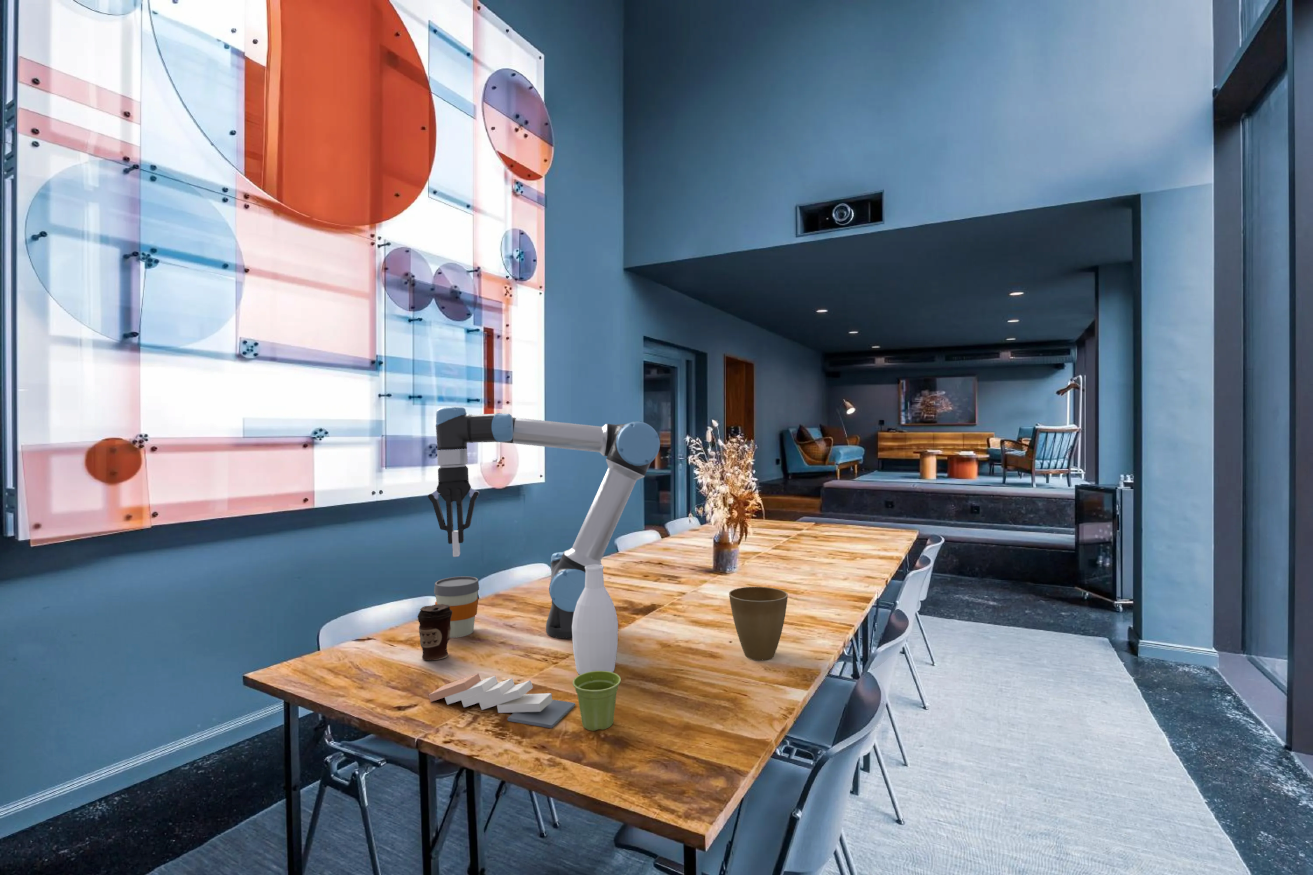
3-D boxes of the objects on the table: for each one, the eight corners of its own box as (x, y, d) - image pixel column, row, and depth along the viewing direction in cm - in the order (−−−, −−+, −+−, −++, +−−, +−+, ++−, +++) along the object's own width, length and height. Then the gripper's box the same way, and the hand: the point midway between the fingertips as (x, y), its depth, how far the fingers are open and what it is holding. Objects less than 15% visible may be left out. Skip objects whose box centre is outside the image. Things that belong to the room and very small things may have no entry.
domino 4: (479, 702, 123) (517, 689, 120) (492, 692, 127) (530, 680, 124) (481, 709, 122) (520, 697, 119) (495, 699, 127) (533, 687, 124)
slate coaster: (507, 720, 118) (507, 717, 118) (533, 699, 127) (533, 696, 127) (551, 728, 114) (551, 724, 114) (575, 705, 124) (575, 702, 124)
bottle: (599, 659, 150) (597, 559, 150) (628, 671, 142) (626, 565, 142) (563, 671, 142) (561, 566, 142) (591, 685, 134) (590, 573, 134)
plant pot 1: (602, 740, 109) (601, 694, 109) (563, 727, 114) (562, 683, 114) (630, 719, 117) (630, 676, 117) (593, 708, 122) (592, 667, 122)
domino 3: (461, 699, 124) (498, 687, 121) (475, 690, 129) (512, 677, 126) (463, 707, 124) (501, 695, 121) (478, 697, 129) (514, 685, 126)
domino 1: (428, 694, 127) (464, 682, 124) (443, 685, 132) (478, 673, 129) (430, 701, 127) (466, 689, 124) (445, 692, 131) (481, 680, 128)
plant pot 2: (799, 653, 151) (798, 591, 151) (768, 671, 140) (767, 604, 140) (750, 640, 161) (750, 582, 161) (718, 656, 151) (717, 593, 151)
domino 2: (444, 697, 125) (481, 684, 122) (459, 687, 130) (495, 675, 127) (447, 704, 125) (484, 692, 122) (462, 694, 130) (497, 682, 127)
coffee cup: (440, 664, 148) (439, 612, 148) (410, 662, 149) (409, 611, 149) (458, 651, 156) (457, 603, 156) (430, 649, 158) (429, 601, 158)
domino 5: (497, 704, 121) (539, 703, 118) (510, 694, 126) (551, 693, 123) (498, 712, 121) (540, 711, 118) (511, 702, 126) (552, 700, 123)
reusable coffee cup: (471, 639, 166) (470, 586, 166) (427, 639, 166) (426, 586, 166) (485, 625, 178) (484, 575, 178) (444, 625, 178) (443, 576, 178)
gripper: (480, 464, 159) (483, 551, 160) (429, 466, 157) (432, 554, 157) (477, 465, 152) (481, 556, 152) (424, 468, 149) (427, 560, 150)
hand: (456, 555), depth 155 cm, fingers closed
